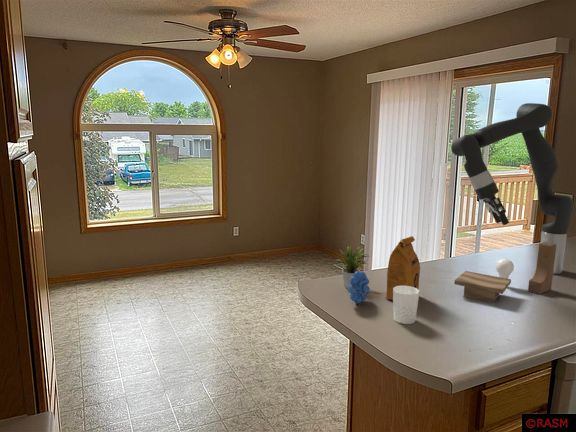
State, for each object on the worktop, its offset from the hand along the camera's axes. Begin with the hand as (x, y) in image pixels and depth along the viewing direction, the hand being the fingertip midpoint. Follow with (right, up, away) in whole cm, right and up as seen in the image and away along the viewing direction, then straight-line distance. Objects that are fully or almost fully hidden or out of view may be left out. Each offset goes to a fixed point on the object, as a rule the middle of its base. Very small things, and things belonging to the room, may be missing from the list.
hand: (502, 223), depth 163 cm
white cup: (-44, -30, -26) cm, 60 cm away
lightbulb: (+3, -25, +6) cm, 26 cm away
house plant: (-57, -25, +3) cm, 62 cm away
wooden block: (+14, -26, +1) cm, 30 cm away
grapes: (-56, -28, -14) cm, 64 cm away
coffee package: (-40, -27, -7) cm, 49 cm away
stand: (-10, -26, -5) cm, 29 cm away
